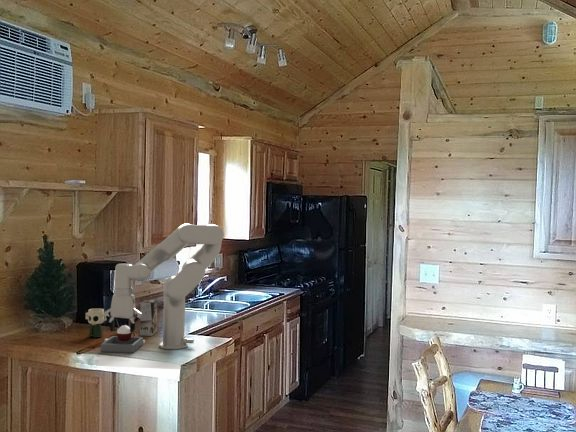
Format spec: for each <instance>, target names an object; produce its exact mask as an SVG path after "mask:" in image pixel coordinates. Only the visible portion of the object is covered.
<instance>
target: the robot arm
mask: <svg viewBox="0 0 576 432" xmlns="http://www.w3.org/2000/svg"><path fill="white" fill-rule="evenodd" d="M224 237H225V233H224V230H223V229H222V227H221V226H219V225H216V224H214V223H213V224H211V223H210V224H207V225H205V224H201V225H199V224H190V223H183V224H181V225H180V226H178V227H177V228H176V229H175V230H173V231H172V233H170V234H169V235H168V236H167V237H166V238H165V239H164V240H162V241H161V242H160V243H159V244H157V245H156V246H155V247H154V248H152V249H151V250H150V251H149V252H148V253H147V254H145V256H143V257H142V258H141V259H140V260H139V261H137V262H136V263H135V264H131V263H126V262H125V263H117V264H116V265H115V271H114V294H113V295H112V299H111V302H110V303H111V304H110V308H108V309H107V310H104V315H105V316H106V318H107V319H106V320H107V321H108V323H109V329H110V332H111V333H112V332H114V331H115V330H116V328H115V325H116V321H115V318H118V319H129V320H130V322H131V323H130V324H129V325H130V326H129V327H130V332H131V333H134V331H135V330H136V323H137V322H138V321H139V319H140V317H141V315H142V313H141V311H140V310H138V309H136V308H137V307H136V298H135V293H136V289H134V288H133V285H134V283H133V281H137V282H145V281H147V280H149V279H150V278H151V274H152V272H153V271H154V270H156V269H157V268H158V266H160V265H162V264H163V263H165V262H166V261H167V262H168V261H170V260H171V259H173V258H174V257H175V256H176V255H178V254H179V253H180V252H181V251H182V250H183V249H184V248H186V247H187V246H188V245H200V248H198V249H197V250H196V252H195V253H194V254H193V255H192V256H191V257H189V259H188V260H186V261H185V262H184V263H183V265H182V267H181V270H180V271H179V272H178V273H177V274H176V275H172V276H169V277H168V278H166V279H165V281H164V283H163V289H162V291H163V314H162V315H163V317H162V319H163V323H162V341H161V342H160V343H159V344H158V346H159V348H161V349H165V350H180V349H185V348H187V347H188V344H194V342H195V339H193V338H192V337H191V338H188V337H187V334H185V323H186V297H187V296H188V295H189V294H190V293H191V292H192V291H193V290H194V289H195V288H196V287H197V286H198V285H199V284H200V283H201V282H202V281H203V279H204V277H205V275H206V269H208V267H210V266H211V264H212V263H213V262H214V261H215V260H216V259H217V258H218V256H219V254H220V252H221V250H222V241H223V240H224ZM109 313H110V314H109ZM136 315H137V316H136ZM135 316H136V317H135Z"/></svg>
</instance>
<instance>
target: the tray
mask: <svg viewBox="0 0 576 432" xmlns="http://www.w3.org/2000/svg"><path fill="white" fill-rule="evenodd" d="M132 337H133V336H131V338H132ZM131 338H130V340H129V341H125V342H122V341H120V340H118V337H117V335H112V336H110V337H109V338H107V339H108V340H106V341H105V340H104V341H103V342H101V343H100V353H115V354H116V353H117V354H135V353H136V352H137V351H138V350H139V349H140V348H141V347H143V346H144V344H143V340H144V336H134V337H133V338H132V339H131Z"/></svg>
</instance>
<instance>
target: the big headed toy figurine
mask: <svg viewBox="0 0 576 432" xmlns="http://www.w3.org/2000/svg"><path fill="white" fill-rule="evenodd" d="M104 312H105V309H104V308H90V309H88V310H87V312H85V320H87V322H88V324H90V325H89V329H88V330H89V331H88V337H89V338H91V337H92V336H93V337H92V338H99V337H102V336H103V326H102V324H103V323H104V322H106V321H107V320H108V319H107V318H106V316H105V315H104Z"/></svg>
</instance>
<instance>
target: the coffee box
mask: <svg viewBox="0 0 576 432" xmlns="http://www.w3.org/2000/svg"><path fill="white" fill-rule="evenodd" d="M140 312H141V313H142V315H141V317H140V318H139V319H140V321H139V323H140V324H139V336H142V337H144V336H146V337H147V336H148V337H150V336H151V337H152V336H154V335H156V333H157V332H158V331H157V330H158V328H157V327H158V326H157V325H158V299H144V300H143V301H141V302H140Z"/></svg>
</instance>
